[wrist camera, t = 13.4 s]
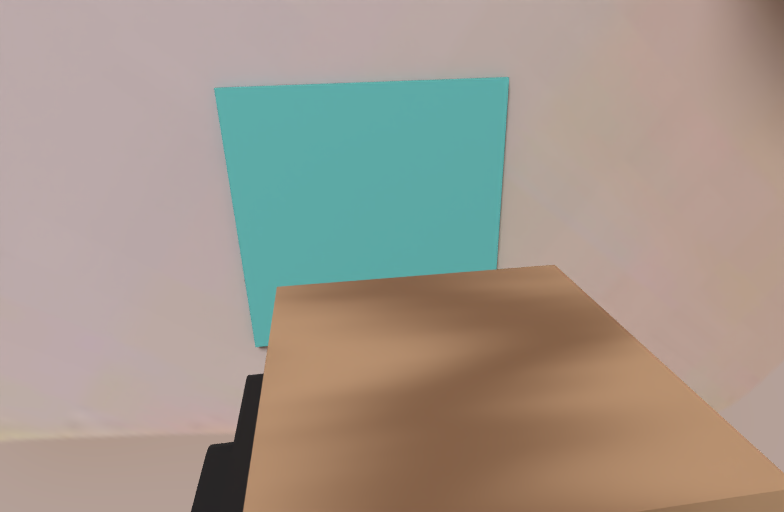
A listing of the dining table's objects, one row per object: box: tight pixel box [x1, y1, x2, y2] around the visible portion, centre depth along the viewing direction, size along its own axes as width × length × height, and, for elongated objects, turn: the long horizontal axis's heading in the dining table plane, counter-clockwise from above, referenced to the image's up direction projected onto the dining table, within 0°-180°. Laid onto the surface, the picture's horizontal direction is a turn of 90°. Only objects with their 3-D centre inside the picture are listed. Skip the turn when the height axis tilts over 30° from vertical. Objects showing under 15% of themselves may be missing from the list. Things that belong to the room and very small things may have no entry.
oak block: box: [243, 265, 784, 512], centre depth 9 cm, size 6×6×6 cm
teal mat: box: [214, 77, 509, 347], centre depth 23 cm, size 12×12×1 cm
